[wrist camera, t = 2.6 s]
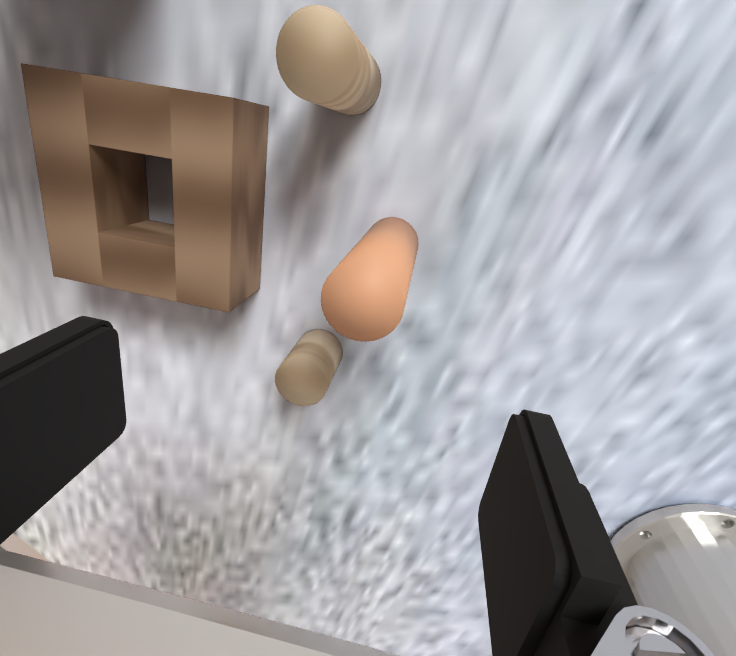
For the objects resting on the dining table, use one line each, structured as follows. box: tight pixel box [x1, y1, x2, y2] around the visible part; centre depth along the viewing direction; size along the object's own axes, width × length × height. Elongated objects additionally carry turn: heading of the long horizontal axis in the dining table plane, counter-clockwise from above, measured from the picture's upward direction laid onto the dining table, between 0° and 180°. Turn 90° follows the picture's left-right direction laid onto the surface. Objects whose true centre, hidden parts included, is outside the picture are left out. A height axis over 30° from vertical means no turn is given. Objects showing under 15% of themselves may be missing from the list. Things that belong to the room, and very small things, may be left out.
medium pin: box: [276, 5, 381, 115], centre depth 22 cm, size 4×4×8 cm
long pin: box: [321, 217, 418, 341], centre depth 23 cm, size 4×4×12 cm
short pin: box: [275, 329, 343, 406], centre depth 30 cm, size 4×4×5 cm
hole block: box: [21, 64, 269, 312], centre depth 27 cm, size 12×12×5 cm
